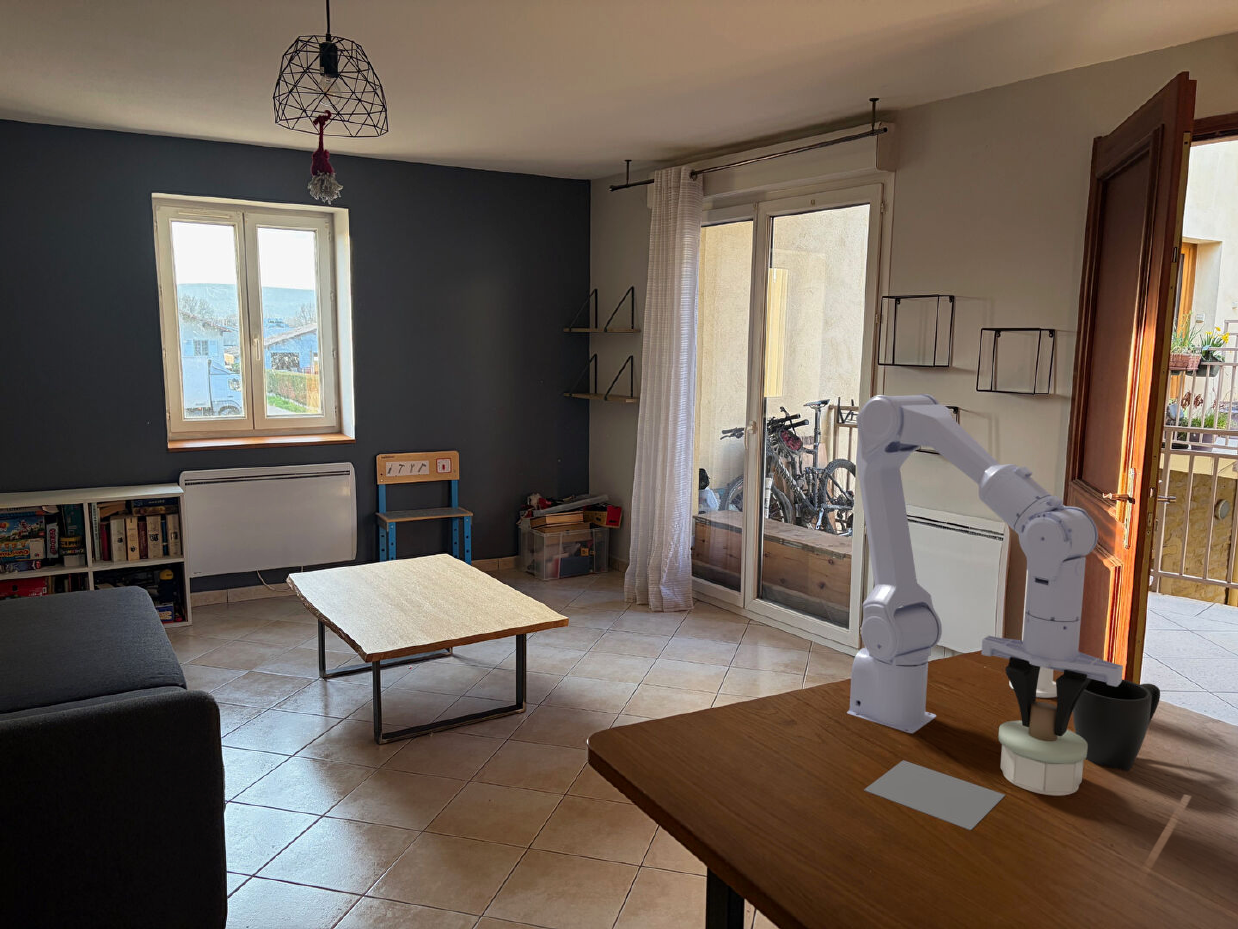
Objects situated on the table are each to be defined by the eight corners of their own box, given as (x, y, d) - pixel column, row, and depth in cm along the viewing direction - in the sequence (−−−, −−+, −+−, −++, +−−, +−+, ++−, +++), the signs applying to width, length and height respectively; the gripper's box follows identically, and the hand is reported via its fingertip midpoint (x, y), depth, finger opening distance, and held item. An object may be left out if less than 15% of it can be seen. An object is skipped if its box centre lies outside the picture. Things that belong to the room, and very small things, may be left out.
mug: (1183, 766, 106) (1190, 691, 105) (1110, 782, 102) (1117, 704, 101) (1123, 738, 114) (1129, 668, 112) (1053, 752, 109) (1058, 679, 108)
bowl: (992, 782, 101) (994, 748, 101) (1016, 760, 107) (1018, 727, 107) (1066, 807, 96) (1069, 771, 96) (1087, 782, 102) (1090, 748, 101)
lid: (984, 743, 101) (988, 703, 100) (1017, 724, 107) (1020, 687, 107) (1069, 771, 94) (1073, 729, 94) (1098, 749, 101) (1102, 709, 100)
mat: (863, 794, 98) (863, 789, 98) (902, 765, 106) (903, 760, 106) (970, 835, 90) (970, 830, 90) (1005, 800, 98) (1005, 795, 97)
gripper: (974, 608, 101) (967, 720, 103) (1114, 637, 91) (1103, 760, 93) (996, 596, 106) (989, 703, 108) (1131, 622, 96) (1121, 739, 98)
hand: (1043, 728), depth 101 cm, fingers closed on lid, 3 cm apart
